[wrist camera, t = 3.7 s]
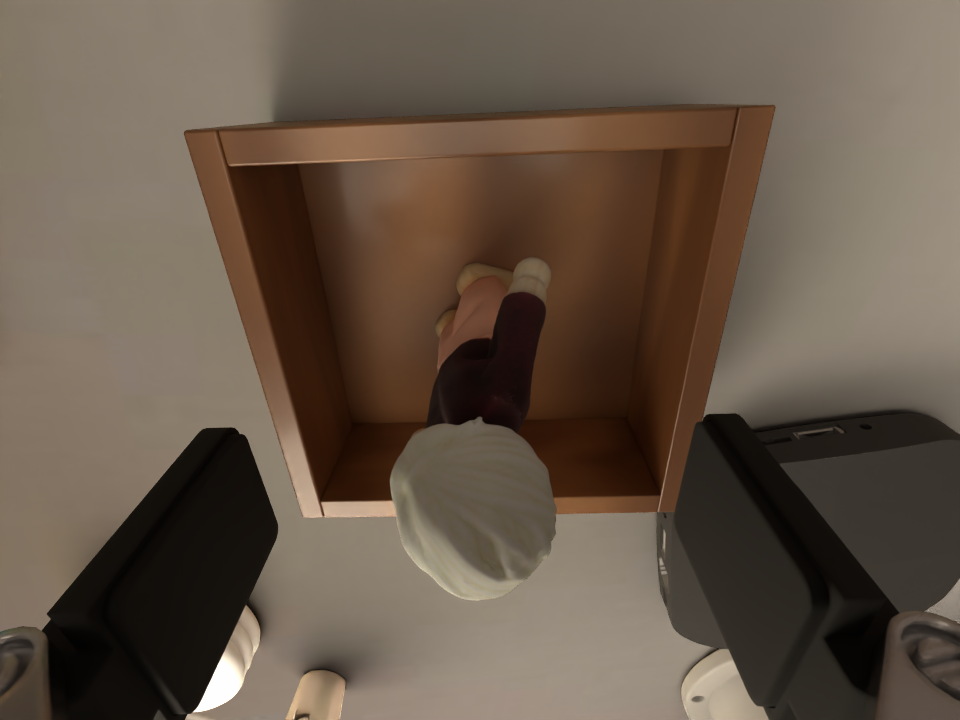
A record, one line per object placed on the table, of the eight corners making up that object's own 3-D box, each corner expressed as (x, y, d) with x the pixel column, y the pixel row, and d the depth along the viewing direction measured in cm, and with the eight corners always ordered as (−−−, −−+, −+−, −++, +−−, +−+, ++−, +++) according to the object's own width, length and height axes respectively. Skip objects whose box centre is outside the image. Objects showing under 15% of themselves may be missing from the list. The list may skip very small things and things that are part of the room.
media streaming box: (899, 591, 29) (941, 641, 26) (656, 616, 30) (672, 665, 28) (971, 395, 22) (1037, 435, 19) (652, 441, 23) (673, 483, 21)
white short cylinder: (212, 555, 28) (178, 611, 25) (289, 648, 33) (269, 705, 30) (73, 584, 30) (25, 640, 26) (166, 669, 34) (134, 725, 31)
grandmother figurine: (499, 389, 21) (512, 700, 10) (417, 367, 21) (337, 670, 10) (562, 225, 18) (687, 431, 7) (465, 194, 17) (424, 360, 6)
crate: (689, 104, 16) (777, 104, 11) (639, 424, 23) (681, 512, 18) (270, 122, 17) (181, 130, 12) (341, 431, 23) (302, 518, 18)
